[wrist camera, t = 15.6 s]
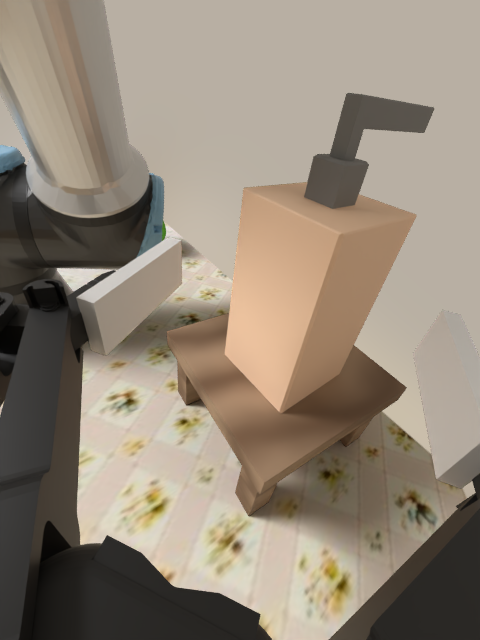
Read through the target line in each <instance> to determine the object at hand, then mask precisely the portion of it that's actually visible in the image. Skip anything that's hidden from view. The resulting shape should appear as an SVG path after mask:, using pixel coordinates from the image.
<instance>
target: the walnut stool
mask: <svg viewBox="0 0 480 640" xmlns="http://www.w3.org/2000/svg"><path fill="white" fill-rule="evenodd" d="M228 320H229V313H227V314H224V315H221V316H217V317H214V318H210V319H207V320H204V321H200V322H197V323H193V324H190V325H186V326H183V327H180V328H176V329H173V330H169V331H167V343H168V346H169V348H170V349H171V351H172V353H173V354H174V356H175V357H176V359H177V362H178V392H179V394H180V395H181V397H182V399H183V401H184V402H185V404H186V405H188V404H190V403H192V402H195V401H197V400H199V399H201V400H202V401H203V403H204V404H205V406H206V408H207V409H208V411H209V413H210V414H211V416H212V417H213V419H214V421H215V422H216V424H217V426H218V427H219V429H220V430H221V432H222V434H223V435H224V437H225V439H226V440H227V442H228V443H229V445H230V447H231V448H232V450H233V452H234V453H235V455H236V456H237V458H238V460H239V461H240V463H241V465H242V468H241V472H240V476H239V480H238V484H237V488H236V492H235V493H236V495H237V497H238V498H239V500H240V502H241V504H242V505H243V507H244V509H245V511H246V513H247V514H248V516H250V515H251V514H252V513H254V512H255V511H257V510H258V509H260V508H261V507H262V506H264V505H265V504H267V503H268V502H269V500H270V498H271V495H272V493H273V491H274V489H275V486H276V484H277V482H279V481H280V480H282V479H283V478H284V477H286V476H287V475H289V474H290V473H292V472H293V471H295V470H296V469H298V468H299V467H301V466H302V465H303V464H305V463H306V462H308V461H309V460H311V459H312V458H314V457H315V456H317V455H318V454H320V453H321V452H322V451H324V450H325V449H327V448H328V447H330V446H331V445H333V444H334V443H336V442H337V441H338V440H340V441H341V442H342V443H343V444H344V445H345V446H348V445H349V444H351V443H352V442H353V441H355V440H356V439H358V438H359V437H360V435H361V434H362V432H363V431H364V430H365V428H366V427H367V425H368V424H369V422H370V421H371V419H372V418H373V417H374V416H375V415H376V414H378V413H379V412H381V411H382V410H384V409H385V408H387V407H388V406H389V405H391V404H392V403H394V402H395V401H397V400H398V399H399V398H400V396H401V395H402V393H403V392H404V391H405V389H406V387H405V386H404V385H403V384H401V383H400V382H399V381H398V380H397V379H395V378H394V377H393V376H392V375H390V374H389V373H388V372H387V371H385V370H384V369H383V368H382V367H380V366H379V365H378V364H377V363H375V362H374V361H373V360H372V359H370V358H369V357H368V356H367V355H365V354H364V353H363V352H362V351H360V350H359V349H358V348H357V347H355V346H354V345H353V347H352V349H351V351H350V353H349V355H348V357H347V359H346V362H345V364H344V366H343V368H342V370H341V372H340V374H339V375H337V376H336V377H334V378H333V379H331V380H330V381H328V382H327V383H326V384H324V385H323V386H321V387H320V388H318V389H317V390H315V391H314V392H312V393H311V394H309V395H308V396H306V397H305V398H303V399H302V400H301V401H299V402H298V403H296V404H295V405H293V406H292V407H290V408H289V409H287V410H286V411H284V412H283V413H280V412H279V411H278V410H277V409H276V408H275V407H274V406H273V405H272V404H271V403H270V402H269V401H268V400H267V399H266V398H265V397H264V396H263V395H262V393H261V392H260V391H259V390H258V389H257V388H256V387H255V386H254V385H253V384H252V383H251V382H250V381H249V380H248V379H247V378H246V376H245V375H244V374H243V373H242V372H241V371H240V370H239V369H238V368H237V367H236V366H235V365H234V364H233V363H232V362H231V361H230V360H229V358H228V357H227V356H226V355H225V346H226V337H227V329H228Z"/></svg>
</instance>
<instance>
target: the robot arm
mask: <svg viewBox="0 0 480 640" xmlns="http://www.w3.org/2000/svg"><path fill="white" fill-rule="evenodd" d="M0 95H1V97H2V99H3V101H4V103H5V105H6V107H7V108H8V110H9V112H10V114H11V116H12V118H13V120H14V122H15V124H16V126H17V128H18V130H19V132H20V134H21V135H22V137H23V139H24V141H25V143H26V145H27V147H28V149H29V151H30V152H31V157H30V159H29V161H28V164H27V165H26V164H24V162H25V158H24V157H23V156H22V154H21V153H20V151H19V150H18V149H16V148H15V147H8V146H4V145H0V407H1V405H2V403H3V402H4V404H3V408H2V412H1V415H0V640H272V639H271V638H270V636H269V635H268V634H267V632H266V631H265V630H264V629H263V628H262V627H261V626H260V625H259V619H260V614H259V613H257V612H255V611H253V610H251V609H249V608H247V607H245V606H243V605H241V604H239V603H237V602H235V601H234V600H232V599H230V598H228V597H226V596H224V595H222V594H220V593H214V592H206V591H199V590H191V589H184V588H177V587H174V586H172V585H171V584H170V583H169V582H168V581H167V580H166V579H165V578H164V577H163V575H162V574H161V573H160V572H159V571H158V570H157V569H156V568H155V567H154V566H153V565H152V564H151V563H150V562H149V560H148V559H147V558H146V557H145V556H144V555H143V554H142V553H141V552H139V551H137V550H135V549H133V548H131V547H129V546H127V545H125V544H123V543H121V542H119V541H117V540H115V539H113V538H111V537H109V536H108V535H107V536H106V538H105V540H104V541H103V543H102V544H100V543H94V544H84V545H80V531H79V524H78V518H77V490H78V466H79V442H80V418H81V394H82V371H83V349H82V345H83V344H84V343H85V342H87V341H89V345H90V348H91V351H94V352H97V353H99V354H102V355H105V356H107V355H108V354H109V353H110V352H111V351H112V350H113V349H114V348H115V347H116V346H117V345H118V344H119V343H120V342H121V341H123V340H124V339H125V338H126V337H127V336H128V335H129V334H130V333H131V332H132V331H133V330H134V329H135V328H136V327H137V326H138V325H139V324H140V323H141V322H142V321H144V320H145V319H146V318H147V317H148V316H149V315H150V314H151V313H152V312H153V311H154V310H155V309H156V308H157V307H158V306H159V305H160V304H161V303H162V302H163V301H165V300H166V299H167V298H168V297H169V296H170V295H171V294H172V293H173V292H174V291H175V290H176V289H177V288H178V287H179V286H180V285H181V284H182V244H181V240H179V239H175V238H171V237H168V238H166V239H165V240H163V241H162V227H163V212H164V182H163V180H162V178H161V177H159V176H156V175H154V174H153V173H152V174H151V173H149V170H148V167H147V164H146V161H145V160H144V158H143V156H142V155H141V154H140V152H139V151H137V150H136V149H135V148H134V147H133V146H132V145H130V144H129V141H128V135H127V129H126V124H125V118H124V113H123V107H122V102H121V96H120V90H119V84H118V79H117V73H116V68H115V62H114V56H113V50H112V45H111V39H110V34H109V29H108V22H107V17H106V11H105V5H104V0H0ZM56 268H82V269H113V271H110V272H107V273H104V274H101V275H100V276H98V277H97V278H95V279H94V280H92V281H90V282H89V283H87V285H84V286H82V287H81V288H79V289H78V290H76V291H74V292H73V291H72V289H71V288H70V287H69V286H68V284H67V283H66V282H65V280H64V279H63V278H62V276H61V275H60V274H59V273H58V271H57V269H56ZM114 270H117V271H114ZM413 356H414V361H415V366H416V372H417V377H418V382H419V388H420V394H421V399H422V405H423V410H424V415H425V421H426V426H427V432H428V437H429V443H430V448H431V454H432V459H433V464H434V470H435V475H436V480H439V481H441V482H444V483H447V484H449V485H452V486H455V487H457V488H460V489H461V488H463V487H464V486H465V485H467V484H468V483H470V482H471V481H473V485H474V488H475V492H476V493H475V494H474V495H472V496H470V497H469V498H467V499H466V500H464V501H463V502H462V503H460V504H459V505H457V506H456V507H457V508H458V509H457V510H456V511H455V512H454V513H453V514H452V515H451V516H450V517H449V518H448V519H447V520H446V521H445V522H444V524H443V525H442V526H441V527H440V528H439V529H438V530H437V531H436V532H435V533H434V534H433V535H432V536H431V537H430V538H429V539H428V540H427V541H426V542H425V543H424V544H423V545H422V546H421V547H420V548H419V549H418V550H417V551H416V552H415V553H414V554H413V555H412V556H411V557H410V558H409V559H408V560H407V561H406V562H405V563H404V564H403V565H402V566H401V567H400V568H399V569H398V570H397V571H396V572H395V573H394V574H393V575H392V576H391V577H390V578H389V579H388V580H387V581H386V582H385V583H384V584H383V585H382V586H381V587H380V588H379V589H378V591H377V592H376V593H375V594H374V595H373V596H372V597H371V598H370V599H369V600H368V601H367V602H366V603H365V604H364V605H363V606H362V607H361V608H360V609H359V610H358V611H357V612H356V613H355V614H354V615H353V616H352V617H351V618H350V619H349V620H348V621H347V622H346V623H345V624H344V625H343V626H342V627H341V628H340V629H339V630H338V631H337V632H336V633H335V634H334V635H333V636H332V637H331V638H330V639H329V640H480V357H479V354H478V352H477V350H476V348H475V345H474V343H473V341H472V339H471V337H470V334H469V332H468V330H467V328H466V325H465V323H464V321H463V319H462V316H461V315H460V314H457V313H453V312H449V311H445V310H442V311H441V313H440V314H439V315H438V317H437V318H436V320H435V321H434V323H433V324H432V326H431V327H430V329H429V330H428V332H427V333H426V335H425V336H424V338H423V339H422V341H421V342H420V344H419V345H418V347H417V348H416V350H415V351H414V352H413ZM4 400H5V401H4Z"/></svg>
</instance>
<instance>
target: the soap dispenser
mask: <svg viewBox="0 0 480 640" xmlns="http://www.w3.org/2000/svg"><path fill="white" fill-rule="evenodd" d="M433 111H434V108H433V107H428V106H423V105H417V104H412V103H406V102H401V101H395V100H390V99H384V98H379V97H373V96H367V95H362V94H354V93H353V94H352V93H347V94H346V97H345V101H344V105H343V108H342V112H341V116H340V120H339V123H338V127H337V131H336V134H335V138H334V142H333V145H332V149H331V153H330V154H317V155H316V156H314V157H313V162H312V166H311V170H310V174H309V178H308V182H303V183H292V184H281V185H269V186H258V187H246V188H244V190H243V199H242V208H241V216H240V224H239V234H238V242H237V250H236V259H235V268H234V276H233V285H232V294H231V303H230V311H229V320H228V329H227V337H226V346H225V355H226V356H227V357H228V358H229V360H230V361H231V362H232V363H233V364H234V365H235V366H236V367H237V368H238V369H239V370H240V371H241V372H242V373H243V374H244V375H245V376H246V378H247V379H248V380H249V381H250V382H251V383H252V384H253V385H254V386H255V387H256V388H257V389H258V390H259V391H260V392H261V393H262V395H263V396H264V397H265V398H266V399H267V400H268V401H269V402H270V403H271V404H272V405H273V406H274V407H275V408H276V409H277V410H278V411H279V412H280V413H283V412H284V411H286V410H287V409H289V408H290V407H292V406H293V405H295V404H296V403H298V402H299V401H301V400H302V399H303V398H305V397H306V396H308V395H309V394H311V393H312V392H314V391H315V390H317V389H318V388H320V387H321V386H323V385H324V384H326V383H327V382H328V381H330V380H331V379H333V378H334V377H336V376H337V375H339V374H340V372H341V370H342V368H343V366H344V364H345V362H346V359H347V357H348V355H349V353H350V351H351V349H352V347H353V345H354V343H355V341H356V339H357V337H358V335H359V333H360V331H361V329H362V327H363V325H364V322H365V321H366V318H367V316H368V314H369V312H370V310H371V308H372V306H373V304H374V302H375V300H376V298H377V296H378V294H379V292H380V290H381V288H382V285H383V284H384V282H385V280H386V277H387V275H388V273H389V271H390V269H391V267H392V265H393V263H394V261H395V259H396V257H397V255H398V253H399V251H400V249H401V247H402V245H403V243H404V241H405V238H406V237H407V235H408V232H409V230H410V228H411V226H412V224H413V222H414V220H415V218H416V214H413V213H410V212H407V211H405V210H402V209H398V208H396V207H393V206H391V205H388V204H385V203H382V202H379V201H376V200H374V199H371V198H368V197H365V196H362V195H359V192H360V189H361V186H362V183H363V180H364V177H365V174H366V172H367V169H368V166H369V164H368V163H367V162H366V161H362V160H359V159H355V156H356V153H357V150H358V146H359V143H360V140H361V136H362V132H363V130H364V129H375V130H391V131H404V132H418V133H424V132H425V130H426V127H427V125H428V123H429V120H430V118H431V116H432V113H433Z"/></svg>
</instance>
